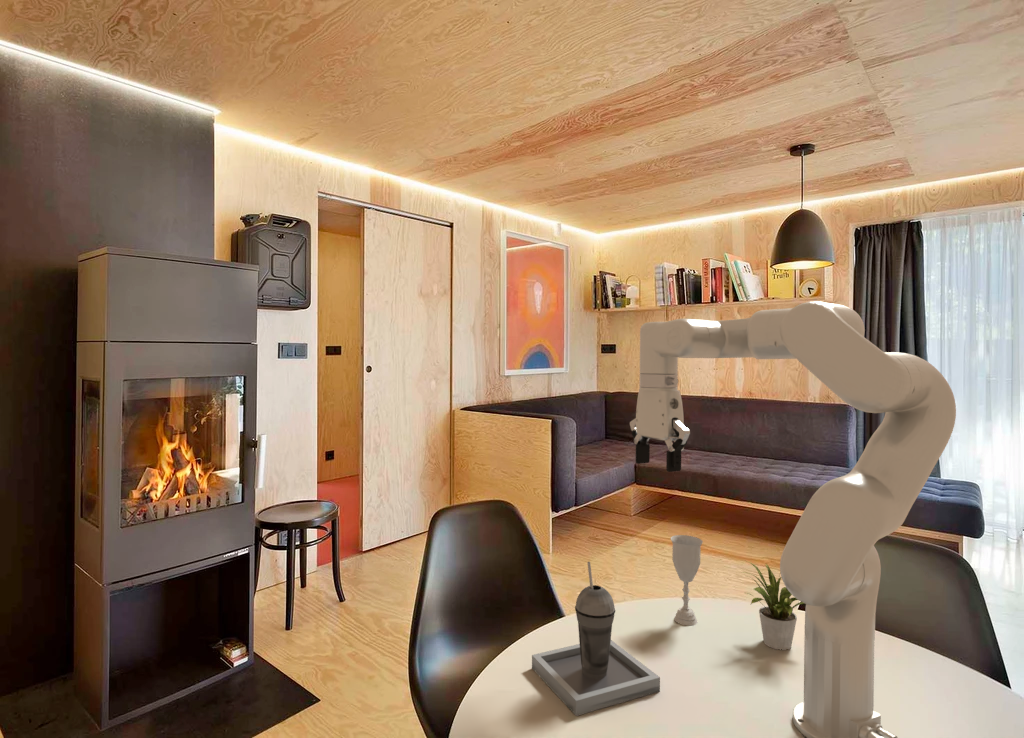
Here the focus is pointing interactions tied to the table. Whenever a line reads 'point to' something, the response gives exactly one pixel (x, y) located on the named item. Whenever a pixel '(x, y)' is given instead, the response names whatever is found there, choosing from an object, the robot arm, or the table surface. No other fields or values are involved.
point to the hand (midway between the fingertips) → (657, 466)
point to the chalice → (686, 571)
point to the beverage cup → (594, 628)
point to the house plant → (776, 612)
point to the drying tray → (593, 694)
